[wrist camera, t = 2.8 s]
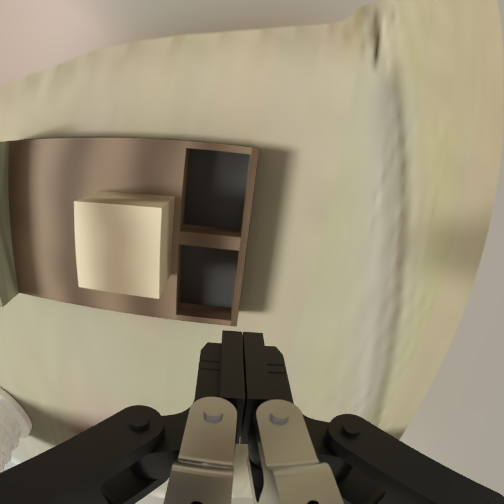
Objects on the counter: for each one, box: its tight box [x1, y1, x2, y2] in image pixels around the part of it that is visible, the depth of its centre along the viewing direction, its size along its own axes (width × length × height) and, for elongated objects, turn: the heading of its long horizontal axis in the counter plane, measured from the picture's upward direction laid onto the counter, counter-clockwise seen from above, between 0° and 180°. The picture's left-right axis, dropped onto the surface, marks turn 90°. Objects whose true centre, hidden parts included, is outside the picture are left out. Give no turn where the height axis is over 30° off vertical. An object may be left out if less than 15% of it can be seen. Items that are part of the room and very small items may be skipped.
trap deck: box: [0, 137, 259, 326], centre depth 22 cm, size 22×14×6 cm, turn 83°
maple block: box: [74, 191, 175, 299], centre depth 21 cm, size 6×6×4 cm
